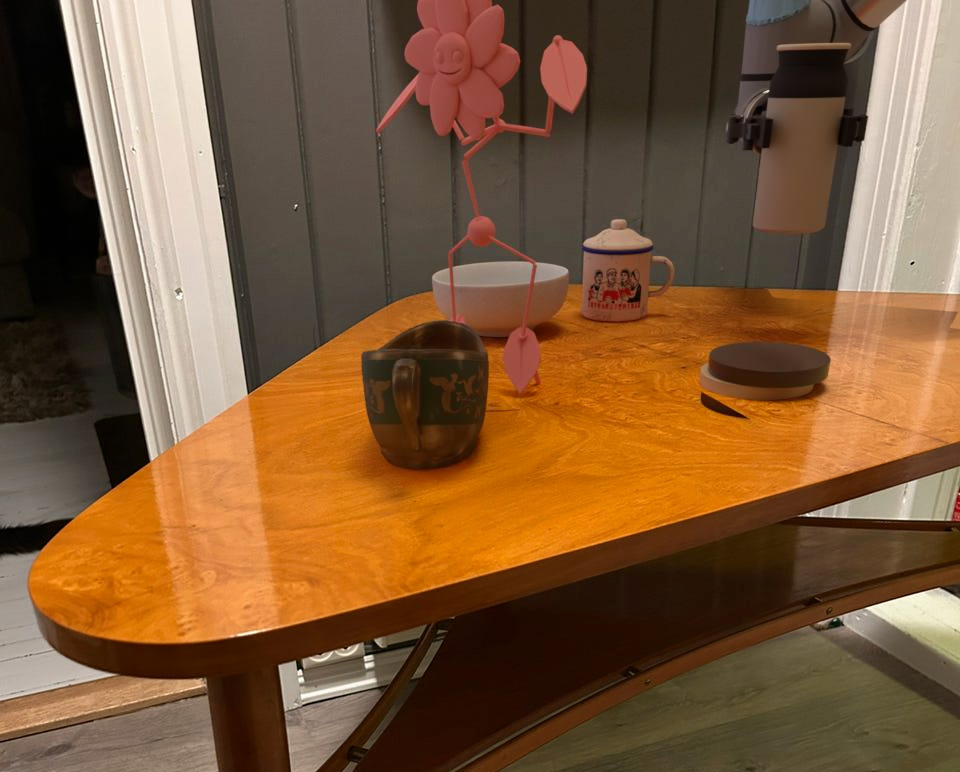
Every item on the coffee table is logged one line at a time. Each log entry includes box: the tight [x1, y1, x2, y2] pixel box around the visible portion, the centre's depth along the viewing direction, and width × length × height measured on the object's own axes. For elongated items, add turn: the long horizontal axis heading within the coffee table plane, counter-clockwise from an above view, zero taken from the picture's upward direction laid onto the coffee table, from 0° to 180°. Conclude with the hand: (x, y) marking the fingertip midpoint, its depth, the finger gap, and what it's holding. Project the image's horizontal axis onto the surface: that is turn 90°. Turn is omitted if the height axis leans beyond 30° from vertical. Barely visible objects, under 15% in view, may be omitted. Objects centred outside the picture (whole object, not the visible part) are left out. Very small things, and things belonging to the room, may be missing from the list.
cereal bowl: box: [431, 261, 570, 338], centre depth 117 cm, size 17×17×7 cm
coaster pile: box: [698, 341, 832, 420], centre depth 89 cm, size 12×11×4 cm
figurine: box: [375, 0, 588, 413], centre depth 87 cm, size 15×26×35 cm, turn 48°
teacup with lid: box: [581, 218, 675, 323], centre depth 121 cm, size 12×9×12 cm
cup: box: [360, 319, 490, 471], centre depth 79 cm, size 13×20×10 cm, turn 147°
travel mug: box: [752, 43, 851, 235], centre depth 103 cm, size 8×8×18 cm
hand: (808, 132), depth 98 cm, fingers closed on travel mug, 8 cm apart
